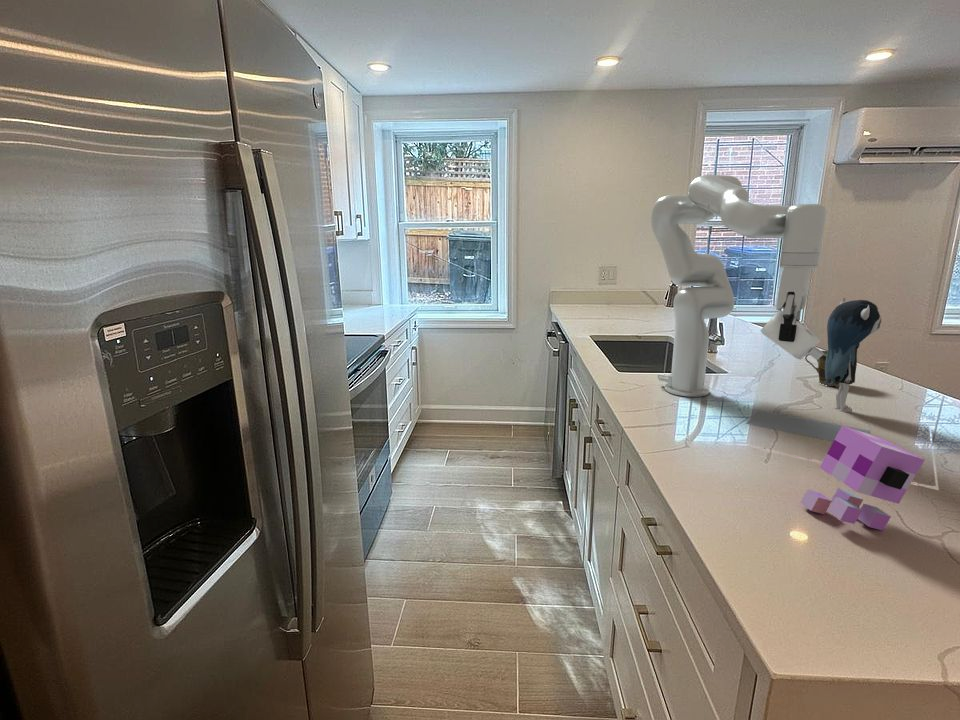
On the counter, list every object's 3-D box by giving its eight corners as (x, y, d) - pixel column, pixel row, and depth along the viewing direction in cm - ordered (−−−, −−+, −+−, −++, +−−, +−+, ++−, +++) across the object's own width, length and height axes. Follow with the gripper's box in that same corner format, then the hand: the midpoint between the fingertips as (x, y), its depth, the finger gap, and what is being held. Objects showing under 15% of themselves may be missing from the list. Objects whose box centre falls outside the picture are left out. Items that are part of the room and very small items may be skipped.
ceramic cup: (849, 383, 161) (855, 352, 158) (851, 391, 152) (857, 359, 150) (801, 377, 167) (806, 348, 165) (801, 384, 159) (806, 354, 157)
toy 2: (795, 498, 89) (835, 422, 85) (833, 508, 90) (874, 434, 86) (841, 534, 78) (889, 450, 75) (883, 546, 80) (933, 463, 76)
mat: (745, 425, 125) (746, 423, 125) (757, 412, 135) (757, 409, 135) (866, 450, 110) (866, 447, 110) (869, 432, 120) (869, 430, 120)
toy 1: (875, 421, 127) (898, 303, 120) (828, 419, 129) (847, 302, 122) (849, 404, 140) (867, 297, 133) (806, 402, 142) (822, 296, 135)
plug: (758, 331, 121) (777, 311, 118) (762, 328, 124) (780, 309, 121) (809, 367, 116) (829, 348, 112) (811, 364, 119) (831, 345, 115)
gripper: (786, 259, 123) (776, 332, 128) (773, 262, 111) (762, 343, 115) (823, 259, 119) (811, 336, 123) (813, 262, 106) (801, 347, 110)
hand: (788, 338), depth 119 cm, fingers closed on plug, 4 cm apart
